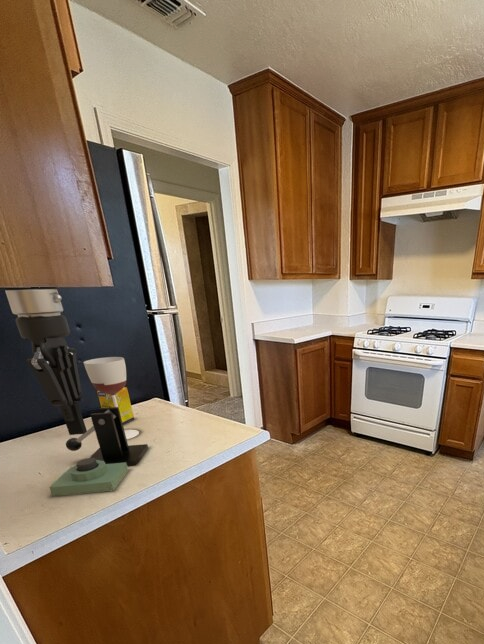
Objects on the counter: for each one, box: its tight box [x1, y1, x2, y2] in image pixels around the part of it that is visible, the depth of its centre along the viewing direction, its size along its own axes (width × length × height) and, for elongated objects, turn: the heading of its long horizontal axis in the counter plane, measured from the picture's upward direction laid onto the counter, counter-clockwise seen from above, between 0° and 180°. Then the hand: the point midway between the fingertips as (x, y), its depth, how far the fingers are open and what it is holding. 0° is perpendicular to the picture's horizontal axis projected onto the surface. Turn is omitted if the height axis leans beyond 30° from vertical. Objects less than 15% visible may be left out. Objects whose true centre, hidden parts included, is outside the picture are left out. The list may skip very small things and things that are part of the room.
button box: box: [49, 460, 129, 497], centre depth 78 cm, size 12×9×4 cm
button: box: [75, 457, 98, 472], centre depth 77 cm, size 4×4×2 cm
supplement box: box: [96, 386, 135, 426], centre depth 112 cm, size 6×6×11 cm
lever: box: [65, 409, 116, 452], centre depth 86 cm, size 14×3×3 cm
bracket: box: [89, 407, 149, 467], centre depth 87 cm, size 12×10×13 cm
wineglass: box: [83, 356, 140, 440], centre depth 99 cm, size 9×10×22 cm
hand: (78, 433), depth 74 cm, fingers closed
